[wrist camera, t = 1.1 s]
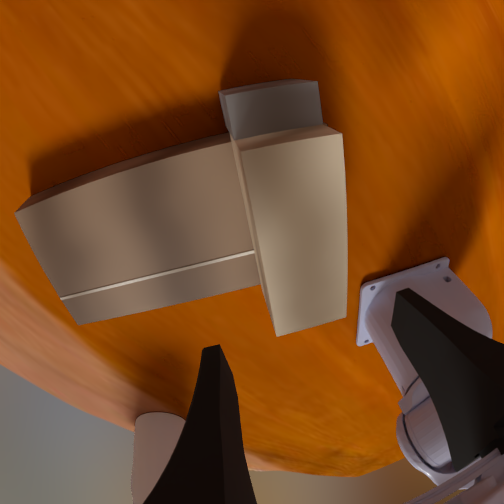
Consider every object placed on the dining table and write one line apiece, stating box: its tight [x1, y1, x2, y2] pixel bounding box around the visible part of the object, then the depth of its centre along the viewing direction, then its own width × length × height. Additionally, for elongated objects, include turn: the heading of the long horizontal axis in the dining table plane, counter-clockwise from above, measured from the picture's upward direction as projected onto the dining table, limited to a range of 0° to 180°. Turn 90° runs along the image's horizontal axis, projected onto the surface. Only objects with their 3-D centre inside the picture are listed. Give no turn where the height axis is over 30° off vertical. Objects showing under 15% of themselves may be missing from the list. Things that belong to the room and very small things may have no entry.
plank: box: [14, 122, 328, 325], centre depth 18 cm, size 18×9×2 cm, turn 100°
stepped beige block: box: [218, 79, 347, 337], centre depth 16 cm, size 4×12×6 cm, turn 10°
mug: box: [131, 412, 185, 504], centre depth 27 cm, size 10×7×12 cm, turn 131°
